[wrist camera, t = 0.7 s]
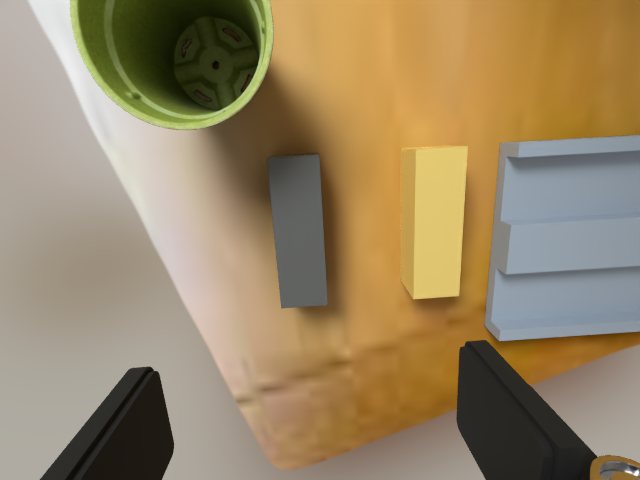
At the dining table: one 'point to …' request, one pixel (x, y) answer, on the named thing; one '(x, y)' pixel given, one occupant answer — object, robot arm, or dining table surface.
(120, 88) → the plant pot
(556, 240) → the slot rack
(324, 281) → the dark gray block
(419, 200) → the butter stick
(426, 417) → the dining table surface
